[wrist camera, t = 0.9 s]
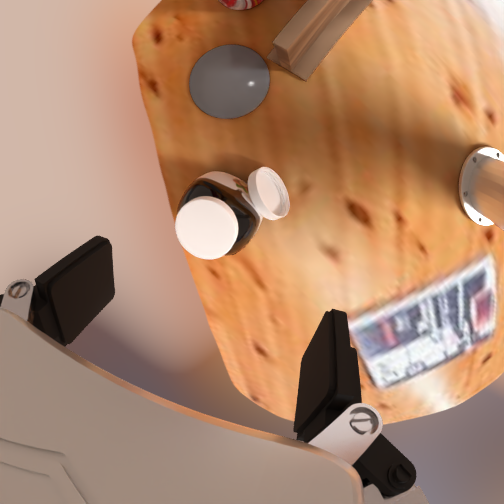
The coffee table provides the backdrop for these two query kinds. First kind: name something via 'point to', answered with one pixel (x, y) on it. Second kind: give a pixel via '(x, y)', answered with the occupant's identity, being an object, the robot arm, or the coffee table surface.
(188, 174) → the coffee table surface
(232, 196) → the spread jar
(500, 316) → the coffee table surface
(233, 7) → the soda can
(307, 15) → the walnut board
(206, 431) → the robot arm
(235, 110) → the slate coaster
